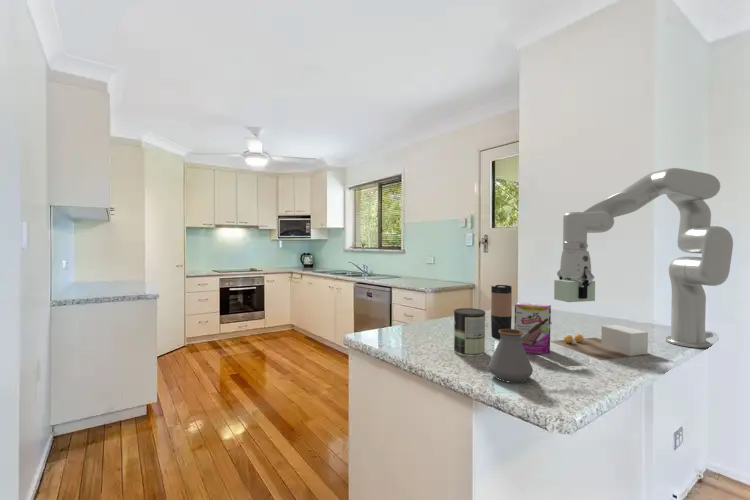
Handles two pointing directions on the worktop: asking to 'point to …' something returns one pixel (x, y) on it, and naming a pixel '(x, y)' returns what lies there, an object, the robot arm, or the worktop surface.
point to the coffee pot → (512, 355)
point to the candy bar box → (527, 319)
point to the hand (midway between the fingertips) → (574, 296)
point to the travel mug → (500, 309)
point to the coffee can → (469, 332)
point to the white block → (624, 340)
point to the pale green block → (572, 291)
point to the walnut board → (594, 349)
